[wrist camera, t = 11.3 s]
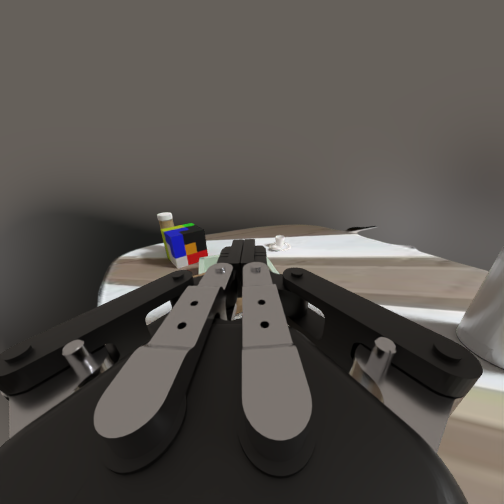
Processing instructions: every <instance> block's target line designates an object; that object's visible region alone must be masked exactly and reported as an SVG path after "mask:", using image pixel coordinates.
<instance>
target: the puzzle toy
mask: <svg viewBox="0 0 504 504" xmlns="http://www.w3.org/2000/svg"><path fill="white" fill-rule="evenodd" d="M161 233H162V237H163V241H164V245H165V249H166V253H167V257H168V259H169V260H170V261H171V262H172V263H173V264H174V265H175V266H176V267H177V268H181V267H184V266H187V265H190V264H193V263H196V262H199V257H206V256H208V253H207V246H206V239H205V233H204V229H202V228H200V227H198V226H196V225H194V224H192V223H189V224H184V225H179V226H175V227H170V228H165V229H161Z"/></svg>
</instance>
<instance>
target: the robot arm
mask: <svg viewBox="0 0 504 504" xmlns="http://www.w3.org/2000/svg"><path fill="white" fill-rule="evenodd" d="M237 298H242V318H241V319H236V320H234V317H235V313H236V309H237V305H236V302H237ZM169 300H170V302H171V305H172V310H171V311H170V312H169V313H167V314H165V315H164V316H162V317H161V318H159V319H157V320H156V321H154V322H152V323H151V324H149V325H146V322H145V318H146V316H147V314H148V313H149V312H150V311H152V310H154V309H155V308H157V307H159V306H161V305H162V304H164V303H166V302H168V301H169ZM308 302H309V303H310V304H312V305H314V306H315V307H317V308H318V309H320V310H321V311H322V312H323V314H324V316H325V318H323V317H322V316H320V315H319V314H317V313H316V312H314V311H313V310H311V309H310V308H308ZM287 324H288V325H289V326H288V325H287ZM456 334H457V336H458V338H459V339H460V341H461V342H462V343H463V344H464V345H465V346H466V347H467V348H469V349H470V350H471V351H472V352H474V353H475V354H477V355H478V356H480V357H481V358H483V359H485V360H486V361H488V362H490V363H492V364H494V365H496V366H498V367H500V368H502V369H504V246H503V248H502V250H501V252H500V253H499V255H498V257H497V259H496V261H495V262H494V264H493V266H492V268H491V269H490V271H489V273H488V275H487V276H486V278H485V280H484V282H483V283H482V285H481V287H480V288H479V290H478V292H477V294H476V295H475V297H474V299H473V301H472V302H471V304H470V306H469V308H468V309H467V311H466V313H465V315H464V316H463V318H462V320H461V322H460V324H459V325H458V327H457V329H456ZM105 344H106V345H105ZM482 373H483V369H482V366H481V364H480V362H479V361H478V360H477V358H476V357H475V356H474V355H473V354H472V353H470V352H469V351H468V350H467V349H465V348H464V347H462V346H461V345H459V344H458V343H456V342H454V341H452V340H450V339H448V338H446V337H444V336H442V335H440V334H437V333H435V332H433V331H431V330H429V329H427V328H425V327H423V326H421V325H419V324H417V323H415V322H413V321H410V320H408V319H406V318H404V317H402V316H400V315H398V314H396V313H394V312H392V311H390V310H388V309H386V308H384V307H381V306H379V305H377V304H375V303H373V302H371V301H369V300H367V299H365V298H363V297H361V296H359V295H357V294H355V293H352V292H350V291H348V290H346V289H344V288H342V287H340V286H338V285H336V284H334V283H332V282H330V281H328V280H325V279H323V278H321V277H319V276H317V275H315V274H313V273H311V272H309V271H307V270H305V269H302V268H289V269H286V270H285V271H284V272H283V275H282V274H277V273H274V272H272V271H270V270H269V268H268V266H267V257H266V248H264V247H263V246H255V239H245V240H233V243H232V246H231V247H225V248H224V249H222V251H221V253H220V256H219V258H218V261H217V263H216V264H214V265H212V266H210V267H209V268H208V269H207V271H206V273H205V274H204V275H202V276H197V277H193V275H192V273H191V272H190V271H188V270H179V271H175V272H172V273H170V274H168V275H166V276H164V277H161V278H159V279H157V280H155V281H153V282H151V283H148V284H146V285H144V286H142V287H140V288H138V289H135V290H133V291H131V292H129V293H127V294H125V295H122V296H120V297H118V298H116V299H114V300H112V301H109V302H107V303H105V304H103V305H101V306H99V307H96V308H94V309H92V310H90V311H88V312H86V313H83V314H81V315H79V316H77V317H75V318H73V319H70V320H68V321H66V322H64V323H62V324H60V325H58V326H55V327H53V328H51V329H49V330H47V331H44V332H42V333H40V334H38V335H36V336H34V337H31V338H29V339H27V340H25V341H23V342H21V343H19V344H16V345H14V346H13V347H11V348H9V349H7V350H6V351H4V352H3V353H1V354H0V390H1V394H2V395H3V396H4V397H5V398H6V399H7V400H8V401H9V440H8V441H6V442H5V443H4V444H3V445H2V446H1V447H0V504H468V502H467V500H466V498H465V496H464V494H463V492H462V490H461V489H460V487H459V485H458V484H457V482H456V480H455V479H454V477H453V475H452V474H451V472H450V471H449V469H448V468H447V467H446V465H445V464H444V462H443V461H442V460H441V458H440V457H439V456H438V455H437V451H438V448H439V445H440V442H441V439H442V436H443V433H444V430H445V427H446V424H447V421H448V418H449V416H450V415H451V414H452V412H453V411H454V410H455V409H456V407H457V406H458V405H459V403H460V402H461V401H462V399H463V398H464V397H465V396H466V394H467V393H468V392H469V390H470V389H471V388H472V387H473V385H474V384H475V383H476V381H477V380H478V379H479V378H480V376H481V375H482Z"/></svg>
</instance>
